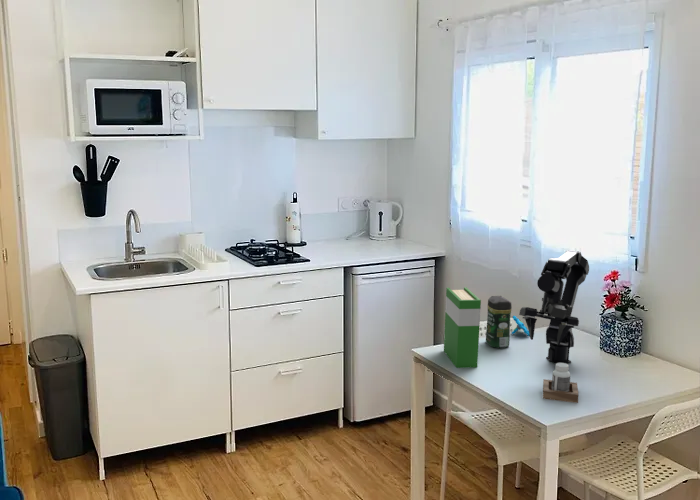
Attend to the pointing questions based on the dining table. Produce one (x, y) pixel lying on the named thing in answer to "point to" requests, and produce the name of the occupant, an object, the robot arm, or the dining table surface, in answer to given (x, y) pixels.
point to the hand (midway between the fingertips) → (544, 342)
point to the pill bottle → (561, 377)
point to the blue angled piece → (519, 326)
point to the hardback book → (462, 327)
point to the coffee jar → (498, 322)
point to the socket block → (560, 392)
